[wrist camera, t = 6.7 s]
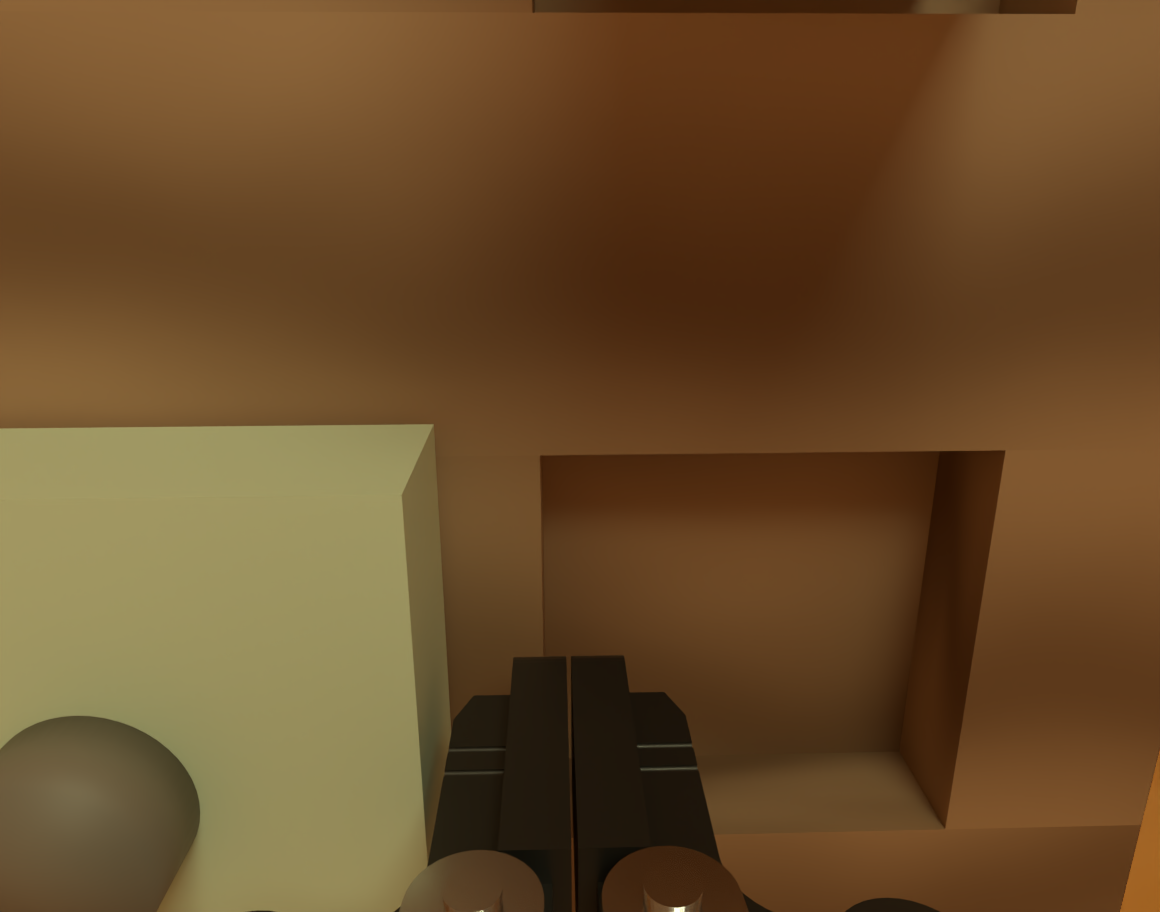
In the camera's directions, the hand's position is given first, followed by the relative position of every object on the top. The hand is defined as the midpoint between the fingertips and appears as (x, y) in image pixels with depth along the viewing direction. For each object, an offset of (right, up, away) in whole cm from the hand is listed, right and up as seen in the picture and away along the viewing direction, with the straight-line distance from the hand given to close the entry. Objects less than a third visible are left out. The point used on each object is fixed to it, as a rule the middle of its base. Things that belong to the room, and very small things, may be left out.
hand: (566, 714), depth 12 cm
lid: (-6, 0, +1) cm, 6 cm away
